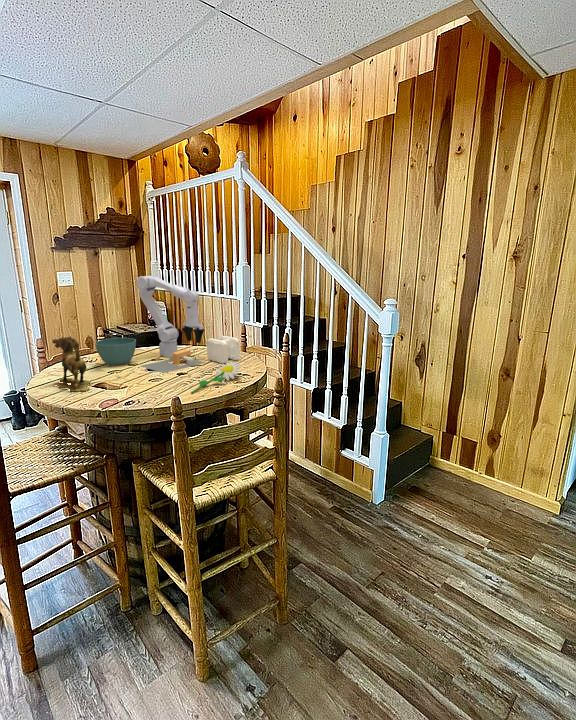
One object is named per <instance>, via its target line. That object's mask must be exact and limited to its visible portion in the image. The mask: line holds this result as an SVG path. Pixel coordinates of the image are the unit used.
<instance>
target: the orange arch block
mask: <svg viewBox="0 0 576 720" xmlns="http://www.w3.org/2000/svg"><path fill="white" fill-rule="evenodd" d="M183 356H186V357H190V358H192V353H191V350H190V349H186V348H185V349H182V350H177V352H174V353H172V358H173V362H172V364H175V365H180V364H181V362H180V361H181V360H180V359H182V357H183ZM182 360H183V359H182ZM184 361H185V362H187V360H184Z"/></svg>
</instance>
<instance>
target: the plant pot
mask: <svg viewBox="0 0 576 720" xmlns="http://www.w3.org/2000/svg"><path fill="white" fill-rule="evenodd" d="M94 344H95V348H96V352H97V353H98V355H99V357H100V358H101V360H102V361H103V363H105V364H106V365H107V366H108V367H115V366H124V365H126V364H127V365H128V364H129V363H130V362H131V361H132V360H133V357H134V354H135V352H136V346H137V339H135V338H131V337H130V338H129V337H114V338H106V339H100V340H97V341H96V342H95V343H94Z"/></svg>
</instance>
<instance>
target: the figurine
mask: <svg viewBox="0 0 576 720" xmlns="http://www.w3.org/2000/svg"><path fill="white" fill-rule="evenodd" d="M51 343H52V344H54V347H55V349H56V348H57V349H59V348H60V349H61V350H62V354H61V365H62V367H63V377H62V378H60V379H59V381H60V382H63V383H59V381H58V382H54V383H53V384H52V386H53V385H57V386H59V387H58V389H60V388H69V389H70V392H85V393H87V392H89V391H90V388H89V387H88V384H89V385H90V383H91V384H92V382H91V381H90V380H87V379H85V380H84V374H85V373H86V371H87V364H86V362H85V360H84V359H83V358H82V357H81V356H80V343H79V341H77V339H75V338H74V337H72V336H68V337H63V336H62V337H60V338H56V339H55V338H54V339H52V342H51ZM67 372H70V373H71V374H72V375H73V378H74V379H73V378H70V377H68V378H67ZM79 373H80V376H79ZM78 376H79V378H78ZM67 383H71V385H68V384H67ZM88 390H89V391H88ZM86 391H87V392H86ZM70 392H69V393H70Z"/></svg>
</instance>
